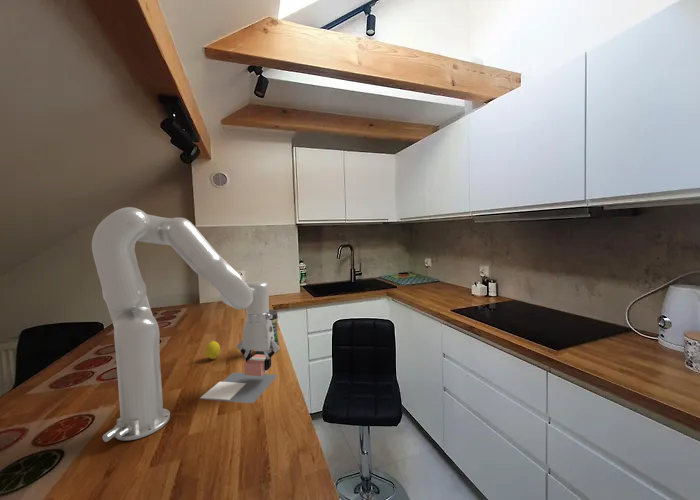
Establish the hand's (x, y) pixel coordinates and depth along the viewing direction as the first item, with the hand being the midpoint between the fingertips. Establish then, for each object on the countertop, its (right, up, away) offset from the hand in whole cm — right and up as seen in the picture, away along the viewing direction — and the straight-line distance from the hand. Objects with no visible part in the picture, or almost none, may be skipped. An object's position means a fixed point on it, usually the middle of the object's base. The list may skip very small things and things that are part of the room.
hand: (258, 367), depth 101 cm
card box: (0, -1, 0) cm, 1 cm away
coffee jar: (-5, -4, +28) cm, 29 cm away
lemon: (-26, -5, +22) cm, 34 cm away
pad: (-10, -6, -5) cm, 13 cm away
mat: (-5, -6, -2) cm, 8 cm away
